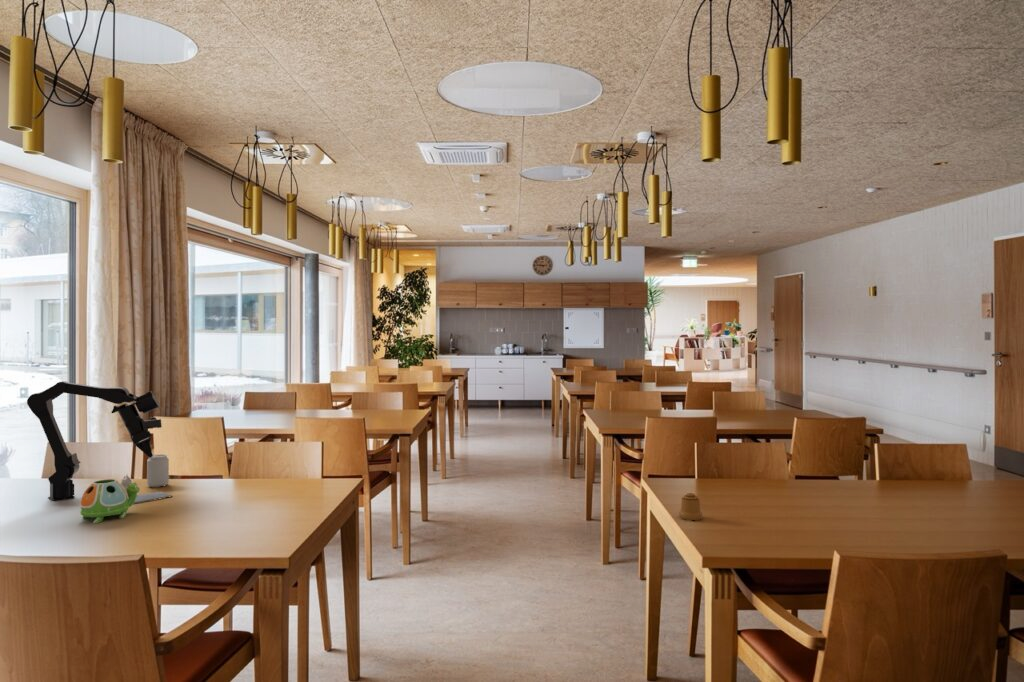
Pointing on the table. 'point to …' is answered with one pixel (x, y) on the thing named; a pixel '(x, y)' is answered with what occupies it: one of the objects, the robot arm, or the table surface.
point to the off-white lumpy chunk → (126, 482)
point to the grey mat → (150, 496)
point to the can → (157, 471)
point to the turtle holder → (107, 499)
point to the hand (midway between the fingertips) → (150, 456)
